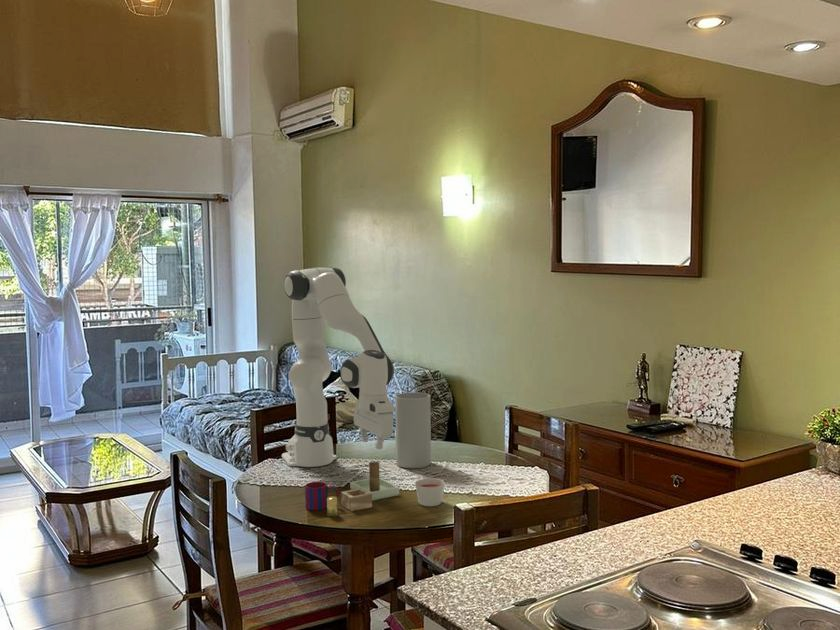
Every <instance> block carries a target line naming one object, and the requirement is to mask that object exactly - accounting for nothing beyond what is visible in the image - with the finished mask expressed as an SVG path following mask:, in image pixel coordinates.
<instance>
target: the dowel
mask: <svg viewBox="0 0 840 630" xmlns="http://www.w3.org/2000/svg"><path fill="white" fill-rule="evenodd" d="M368 468H369V469H368V471H369V472H368V473H369V475H368V476H369V478H368V479H369V482H370V491H371V492H374V491H379V490H380V478H381V477H380V462H379V461H376V460H375V461H369V463H368ZM379 477H380V478H379Z"/></svg>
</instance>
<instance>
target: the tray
mask: <svg viewBox="0 0 840 630" xmlns="http://www.w3.org/2000/svg"><path fill="white" fill-rule="evenodd" d="M379 478H380V490H379V491H374V492H371V491H370V482H369V478H366V479H365V478H364V479H360V480H355V481H350V482H349V483H350V484H349V487H350V488H349V490H354V489H359V488H362V489H364V490H366V491H368V492H369V493H371V494H372V501H377V500H380V499H381V500H382V499H387V498H390V497H396V496H400V487H399V486H397V485H396V484H393V483H392V482H390V481H388V480H386V479H384V478H382V477H380V476H379Z"/></svg>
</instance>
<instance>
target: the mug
mask: <svg viewBox="0 0 840 630" xmlns="http://www.w3.org/2000/svg"><path fill="white" fill-rule="evenodd" d="M330 489H334V490H335V492H336V496H335V497H337V500H338V498H339V490H338V487H336V486H335V485H334V486H332V485H331V486H328V483H327V482H325V481H311V482H307V483H306V484H304V501H305V506H304V507H305V509H306V510H308V511H314V510H316V511H322V510H326V509H327V497H329V496H328V493H329V492H328V491H329V490H330ZM325 508H326V509H325Z"/></svg>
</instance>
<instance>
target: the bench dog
mask: <svg viewBox="0 0 840 630" xmlns="http://www.w3.org/2000/svg"><path fill="white" fill-rule="evenodd" d="M326 516H328V517H330V516H333V517H336V516H338V499H337V497H336V496H328V497H327V508H326Z"/></svg>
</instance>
